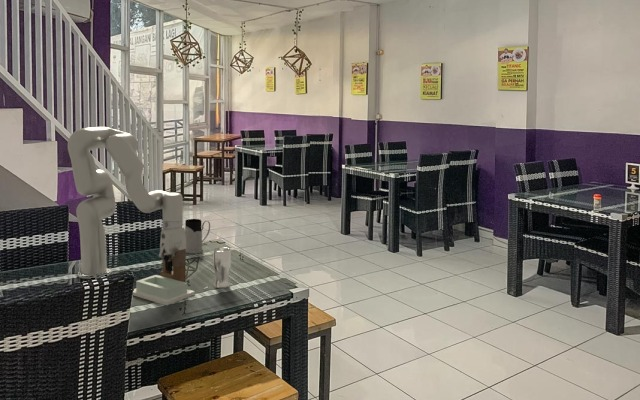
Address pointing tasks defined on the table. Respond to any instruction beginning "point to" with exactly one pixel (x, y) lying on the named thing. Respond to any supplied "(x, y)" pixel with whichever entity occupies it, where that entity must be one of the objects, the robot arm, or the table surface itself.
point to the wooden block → (176, 267)
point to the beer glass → (221, 266)
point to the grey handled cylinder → (194, 235)
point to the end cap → (162, 289)
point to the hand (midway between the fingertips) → (172, 268)
